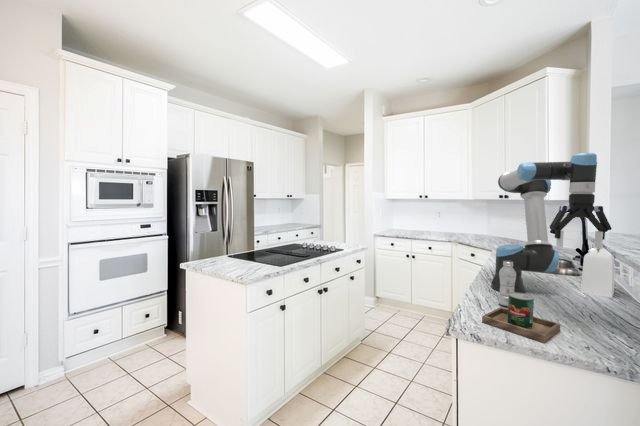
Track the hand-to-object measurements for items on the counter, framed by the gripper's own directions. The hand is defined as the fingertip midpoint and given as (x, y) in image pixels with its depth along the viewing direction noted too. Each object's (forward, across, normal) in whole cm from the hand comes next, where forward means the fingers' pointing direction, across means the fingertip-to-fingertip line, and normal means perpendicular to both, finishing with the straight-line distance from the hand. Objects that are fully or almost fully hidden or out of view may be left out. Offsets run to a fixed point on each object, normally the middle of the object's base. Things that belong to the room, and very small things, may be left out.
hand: (578, 247), depth 116 cm
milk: (+29, +35, +40) cm, 60 cm away
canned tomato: (+28, -25, -11) cm, 40 cm away
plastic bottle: (+29, -20, +11) cm, 37 cm away
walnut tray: (+29, -26, -11) cm, 40 cm away
